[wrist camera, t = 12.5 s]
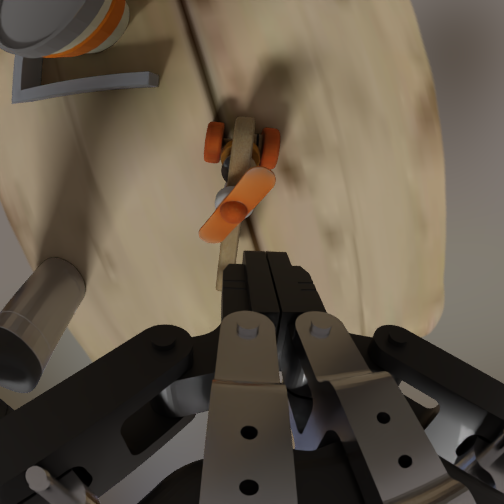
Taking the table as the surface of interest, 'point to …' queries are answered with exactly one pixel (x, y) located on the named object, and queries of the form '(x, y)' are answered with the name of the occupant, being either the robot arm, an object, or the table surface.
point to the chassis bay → (69, 82)
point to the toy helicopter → (238, 182)
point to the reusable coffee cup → (60, 26)
